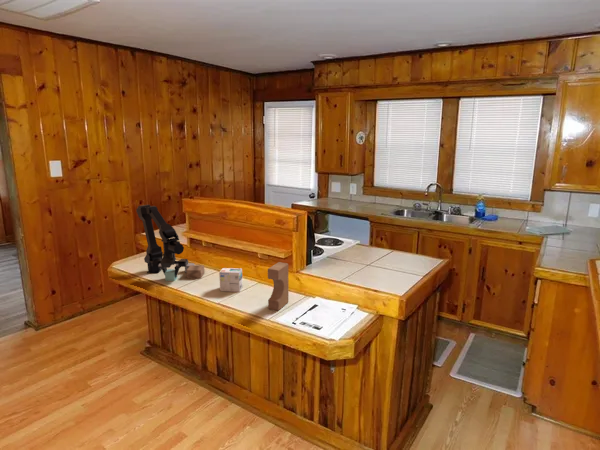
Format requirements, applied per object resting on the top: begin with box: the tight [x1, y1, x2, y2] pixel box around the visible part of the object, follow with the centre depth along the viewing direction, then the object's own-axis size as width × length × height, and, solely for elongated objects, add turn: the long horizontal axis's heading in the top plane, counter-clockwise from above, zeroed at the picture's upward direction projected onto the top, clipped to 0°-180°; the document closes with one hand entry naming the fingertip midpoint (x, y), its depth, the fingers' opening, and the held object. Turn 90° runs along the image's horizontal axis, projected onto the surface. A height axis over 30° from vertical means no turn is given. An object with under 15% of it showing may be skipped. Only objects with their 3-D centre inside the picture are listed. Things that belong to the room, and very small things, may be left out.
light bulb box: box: [218, 267, 244, 293], centre depth 209 cm, size 11×7×11 cm, turn 84°
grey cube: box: [184, 262, 195, 274], centre depth 235 cm, size 4×4×4 cm
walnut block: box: [186, 264, 206, 279], centre depth 228 cm, size 8×8×5 cm
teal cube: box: [164, 268, 178, 282], centre depth 223 cm, size 5×5×5 cm
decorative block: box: [267, 261, 289, 312], centre depth 189 cm, size 11×6×20 cm, turn 154°
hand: (171, 277), depth 223 cm, fingers closed on teal cube, 5 cm apart
